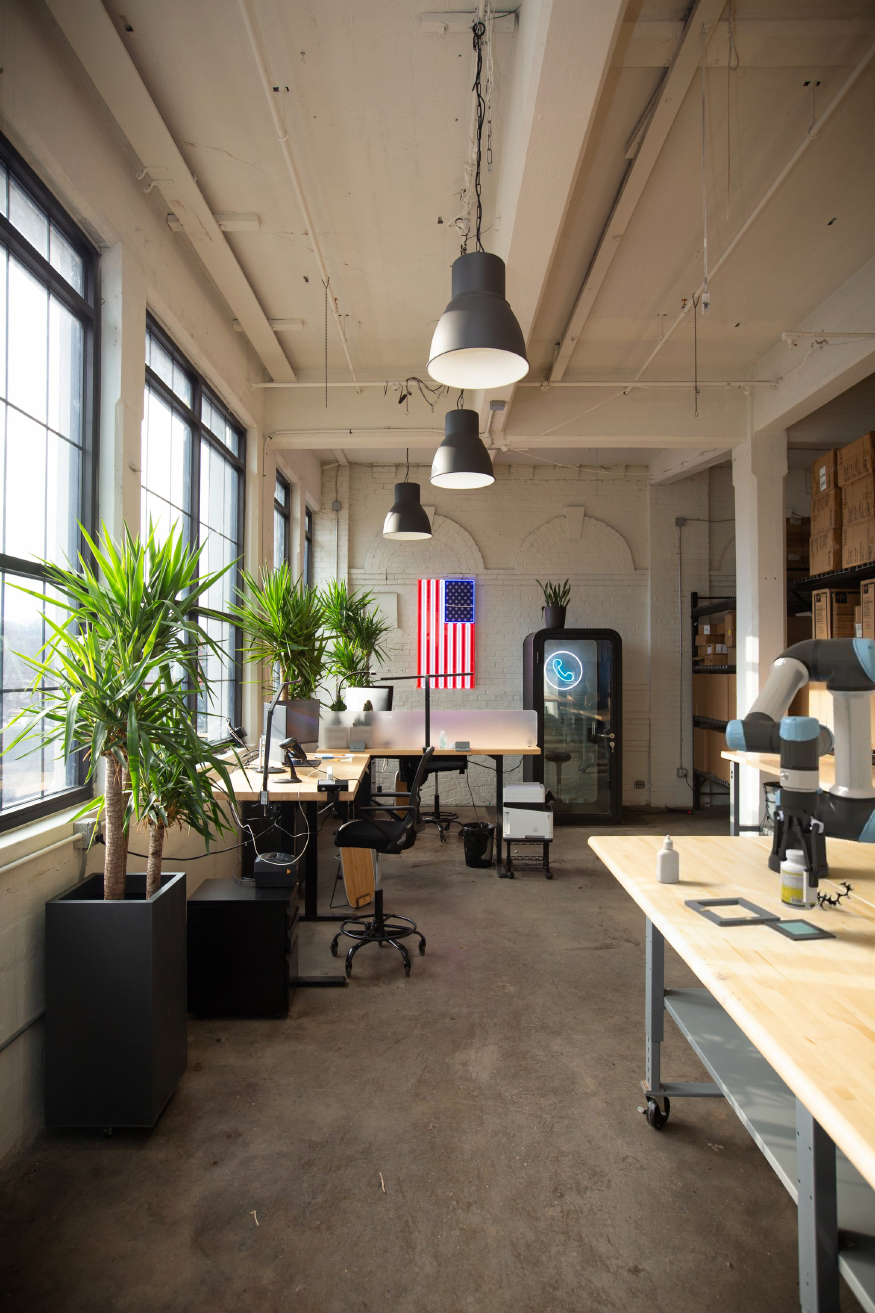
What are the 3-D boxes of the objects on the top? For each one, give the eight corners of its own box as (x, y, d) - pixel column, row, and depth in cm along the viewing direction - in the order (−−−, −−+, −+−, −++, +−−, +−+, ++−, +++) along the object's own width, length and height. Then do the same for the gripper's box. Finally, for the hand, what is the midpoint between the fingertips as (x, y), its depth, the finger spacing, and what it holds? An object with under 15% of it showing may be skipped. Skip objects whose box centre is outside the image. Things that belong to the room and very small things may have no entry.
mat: (802, 920, 157) (802, 918, 157) (836, 937, 147) (836, 935, 147) (762, 923, 155) (762, 921, 155) (793, 940, 146) (793, 938, 146)
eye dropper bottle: (656, 878, 188) (656, 833, 188) (678, 880, 187) (678, 834, 187) (656, 883, 184) (657, 836, 184) (679, 885, 182) (680, 838, 183)
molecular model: (802, 896, 175) (802, 862, 175) (859, 916, 161) (859, 879, 161) (784, 899, 172) (784, 865, 172) (840, 920, 159) (840, 883, 159)
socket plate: (741, 901, 170) (741, 896, 170) (781, 922, 156) (781, 917, 156) (684, 904, 167) (684, 899, 167) (720, 926, 153) (720, 921, 153)
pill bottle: (810, 903, 154) (810, 849, 154) (818, 912, 147) (819, 857, 148) (777, 900, 155) (778, 847, 155) (785, 909, 149) (785, 854, 149)
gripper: (754, 781, 161) (753, 883, 160) (816, 797, 142) (815, 913, 141) (784, 781, 162) (783, 882, 162) (848, 796, 143) (848, 911, 143)
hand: (798, 896), depth 151 cm, fingers closed on pill bottle, 6 cm apart
